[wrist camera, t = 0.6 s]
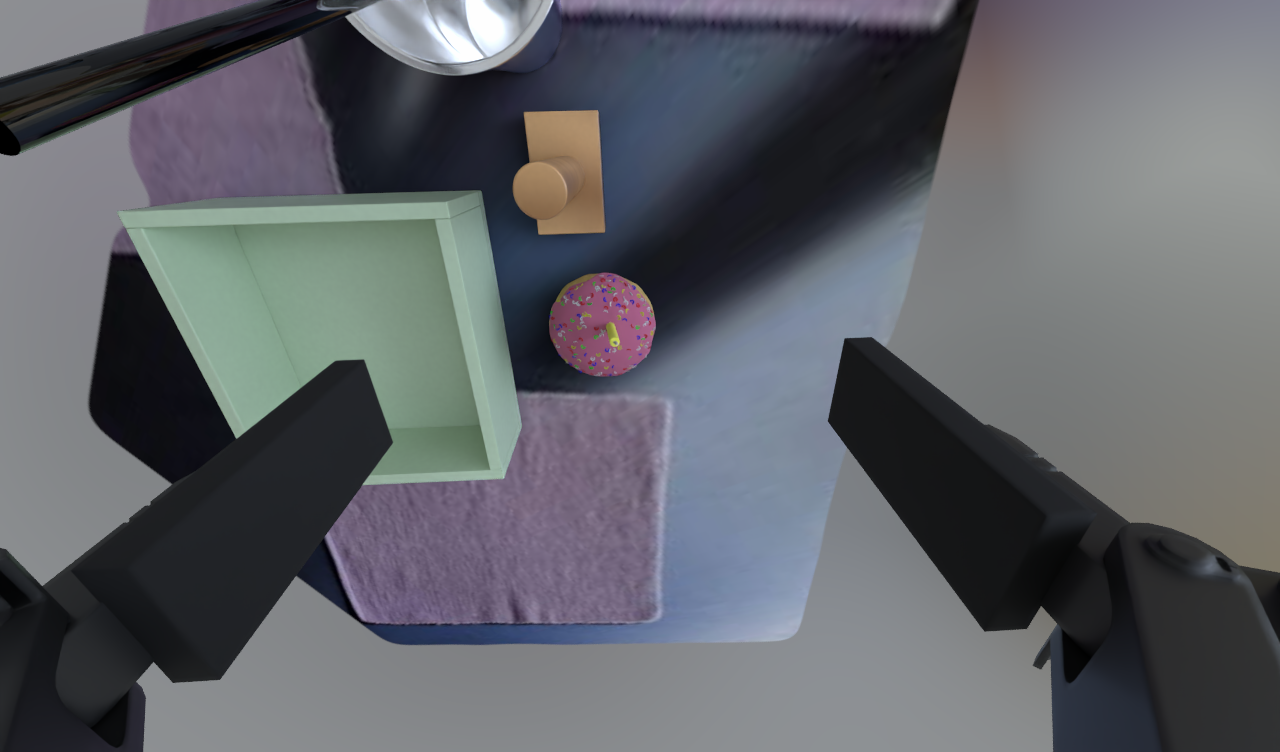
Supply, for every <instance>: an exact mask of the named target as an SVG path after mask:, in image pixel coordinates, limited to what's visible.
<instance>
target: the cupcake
mask: <svg viewBox="0 0 1280 752" xmlns="http://www.w3.org/2000/svg"><path fill="white" fill-rule="evenodd" d="M549 318H550V320H549V331H550V336H551V341H552V342H553V343H554V346H555V348H556V350H557V352H558V353H559V356H561V357H562V358H563V359H564V360H565V361H566V363H568V364H569V365H570V366H572V367H574V368H576V369H578V370H579V372H580V371H581V372H580V373H582V372H584V373H587V374H590V375H594V376H618V375H621V374H623V373H625V372H629V371H628V370H630V369H631V368H635V367H636V365H637V364H638V363H639V362H640V361H642V360H643V359H644V358H647V354H648V353H649V351H650V349H651V343H652V339H653V336H654V332H655V329H656V327H655V326H656V323H655V318H654V312H653V308H652V305H651V303H650V301H649V299H648V297H647V296H646V295H645V293H644V292H643V291H642V289H641V288H640V287H639V286H638V285H637V284H635V283H633V282H631V281H629V280H627V279H625V278H623V277H621V276H619V275H616V274H612V273H599V274H588V275H584V276H582V277H580V278H578V279H576V280H574V281H572V282H570V283H568V284H567V285H566V286H565V287H564V288H563V289H562V290H561V292H560V294H559V295H558V297H557V299H556V301H555V303H554V304H553V306H552V308H551V312H550V315H549ZM634 366H635V367H634Z"/></svg>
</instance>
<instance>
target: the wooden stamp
mask: <svg viewBox="0 0 1280 752" xmlns="http://www.w3.org/2000/svg"><path fill="white" fill-rule="evenodd" d="M524 120H525V128H526V137H527V145H528V153H529V161H530V163H528V164H526V165H524V166H523V167H521V168H520V169H519V171H518V172H517V174H516V175H515V178H514V181H513V195H514V199H515V201H516V203H517V205H518V207H519V208H520V209H521V210H522V211H523V212H524V213H525V214H526V215H528V216H529V217H532V218H534V219H537V226H538V234H539V235H547V234H579V233H604V232H605V228H606V219H605V201H604V183H603V165H602V148H601V130H600V113H599V112H598V111H597V110H587V111H546V112H524Z"/></svg>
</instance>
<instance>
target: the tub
mask: <svg viewBox="0 0 1280 752" xmlns="http://www.w3.org/2000/svg"><path fill="white" fill-rule="evenodd" d="M117 214H118V216H119V218H120V220H121V221H122V223H123V225H124V227H125V228H127V229H126V230H127V232H128V234H129V236H130V238H131V240H132V242H133V244H134V246H135V247H136V249H137V251H138V253H139V255H140V257H141V259H142V261H143V263H144V265H145V266H146V268H147V270H148V272H149V274H150V276H151V278H152V280H153V282H154V283H155V285H156V287H157V289H158V291H159V293H160V295H161V297H162V299H163V301H164V302H165V304H166V306H167V308H168V310H169V312H170V314H171V316H172V318H173V319H174V321H175V323H176V325H177V327H178V329H179V331H180V333H181V335H182V336H183V338H184V340H185V342H186V344H187V346H188V348H189V350H190V352H191V354H192V355H193V357H194V359H195V361H196V363H197V365H198V367H199V369H200V371H201V372H202V374H203V376H204V378H205V380H206V382H207V384H208V386H209V388H210V389H211V391H212V393H213V395H214V397H215V399H216V401H217V403H218V405H219V407H220V408H221V410H222V412H223V414H224V416H225V418H226V420H227V422H228V424H229V425H230V427H231V429H232V431H233V433H234V435H235V437H236V439H237V438H238V437H240V436H241V435H242V434H243V433H245V432H246V431H247V430H248V429H250V428H251V427H252V426H253V425H255V424H256V423H257V422H258V421H260V420H261V419H262V418H263V417H265V416H266V415H267V414H269V413H270V412H271V411H272V410H274V409H275V408H276V407H277V406H279V405H280V404H281V403H282V402H284V401H285V400H286V399H287V398H289V397H290V396H291V395H292V394H294V393H295V392H296V391H298V390H299V389H300V388H301V387H303V386H304V385H305V384H306V383H308V382H309V381H310V380H311V379H313V378H314V377H315V376H316V375H318V374H319V373H320V372H321V371H323V370H324V369H325V368H327V367H328V366H329V365H330V364H332V363H333V362H334V361H337V360H360V359H364V360H365V363H366V366H367V369H368V372H369V374H370V377H371V380H372V383H373V386H374V389H375V392H376V394H377V397H378V400H379V403H380V406H381V409H382V412H383V415H384V417H385V420H386V423H387V426H388V429H389V432H390V435H391V437H392V440H393V444H392V445H391V446H390V448H389V449H388V451H387V452H386V453H385V455H384V456H383V457H382V459H381V460H380V462H379V463H378V464H377V466H376V467H375V468H374V470H373V471H372V472H371V474H370V475H369V477H368V478H367V479H366V481H365V482H364V483H363V485H376V484H398V483H420V482H443V481H465V480H488V479H504V477H505V474H506V471H507V468H508V465H509V462H510V459H511V456H512V454H513V451H514V448H515V445H516V442H517V439H518V436H519V433H520V430H521V427H522V424H521V418H520V412H519V406H518V400H517V395H516V389H515V383H514V377H513V371H512V365H511V360H510V354H509V348H508V342H507V336H506V331H505V325H504V319H503V313H502V307H501V301H500V296H499V290H498V284H497V278H496V272H495V267H494V261H493V255H492V249H491V243H490V237H489V232H488V226H487V220H486V214H485V208H484V202H483V197H482V191H481V190H472V191H436V192H401V193H366V194H331V195H296V196H261V197H226V198H213V199H206V200H198V201H191V202H183V203H176V204H168V205H161V206H153V207H146V208H138V209H131V210H123V211H117Z"/></svg>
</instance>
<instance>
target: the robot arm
mask: <svg viewBox="0 0 1280 752" xmlns="http://www.w3.org/2000/svg"><path fill="white" fill-rule="evenodd" d="M828 422H829V424H830V425H831V426H832V428H833V429H834V430H835V432H836V433H837V434H838V436H839V437H840V438H841V440H842V441H843V442H844V444H845V445H846V446H847V448H848V449H849V450H850V452H851V453H852V454H853V456H854V457H855V459H856V460H857V461H858V462H859V464H860V465H861V466H862V468H863V469H864V471H865V472H866V473H867V475H868V476H869V477H870V478H871V480H872V481H873V483H874V484H875V485H876V487H877V488H878V489H879V491H880V492H881V493H882V495H883V496H884V497H885V499H886V500H887V501H888V503H889V504H890V505H891V507H892V508H893V509H894V511H895V512H896V513H897V515H898V516H899V517H900V519H901V520H902V521H903V523H904V524H905V526H906V527H907V528H908V529H909V531H910V532H911V533H912V535H913V536H914V538H915V539H916V540H917V542H918V543H919V544H920V546H921V547H922V548H923V550H924V551H925V552H926V553H927V555H928V556H929V558H930V559H931V560H932V562H933V563H934V564H935V566H936V567H937V568H938V570H939V571H940V572H941V574H942V575H943V576H944V578H945V579H946V580H947V582H948V583H949V584H950V586H951V587H952V589H953V590H954V591H955V593H956V594H957V595H958V596H959V598H960V599H961V600H962V602H963V603H964V604H965V606H966V607H967V609H968V610H969V611H970V612H971V614H972V615H973V616H974V618H975V619H976V621H977V622H978V623H979V625H980V626H981V627H982V629H983V630H984V631H1000V630H1016V629H1027V628H1028V626H1029V625H1030V623H1031V621H1032V619H1033V618H1034V616H1035V615H1036V613H1037V611H1038V610H1039V608H1040V606H1042V607H1043V608H1044V609H1045V610H1046V612H1047V613H1048V614H1049V615H1050V616H1051V617H1052V618H1053V619H1054V620H1055V621H1056V623H1057V626H1056V627H1055V628H1054V630H1053V632H1052V633H1051V635H1050V636H1049V638H1048V639H1047V641H1046V642H1045V644H1044V645H1043V647H1042V648H1041V650H1040V651H1039V653H1038V655H1037V656H1036V658H1035V661H1034V664H1033V666H1035V667H1037V668H1039V669H1042V667H1043V665H1044V664H1045V663H1046V661H1047V660H1049V659H1051V685H1052V721H1053V752H1280V573H1278V572H1272V571H1266V570H1261V569H1255V568H1249V567H1244V566H1239V565H1237V564H1236V563H1235V562H1233V561H1232V560H1231V559H1229V558H1228V557H1227V556H1225V555H1224V554H1223V553H1222V552H1220V551H1219V550H1217V549H1215V548H1213V547H1211V546H1210V545H1207V544H1206V543H1204V542H1202V541H1200V540H1198V539H1197V538H1194V537H1192V536H1189V535H1186V534H1184V533H1182V532H1179V531H1176V530H1174V529H1171V528H1167V527H1163V526H1159V525H1154V524H1150V523H1129V522H1128V521H1127V520H1125V519H1124V518H1123V517H1121V516H1120V515H1118V514H1117V513H1116V512H1115V511H1113V510H1112V509H1110V508H1109V507H1108V506H1107V505H1105V504H1104V503H1103V502H1101V501H1100V500H1099V499H1097V498H1096V497H1095V496H1093V495H1092V494H1091V493H1089V492H1088V491H1087V490H1085V489H1084V488H1083V487H1081V486H1080V485H1079V484H1077V483H1076V482H1075V481H1073V480H1072V479H1071V478H1069V477H1068V476H1066V475H1065V474H1064V473H1063V472H1057V470H1056V467H1055V466H1053V465H1052V464H1051V463H1049V462H1048V461H1047V460H1045V459H1044V458H1039V457H1038V454H1037V453H1036V452H1035V451H1033V450H1032V449H1030V448H1029V447H1028V446H1027V445H1025V444H1024V443H1023V442H1021V441H1020V440H1018V439H1017V438H1015V437H1013V436H1011V435H1009V434H1007V433H1005V432H1003V431H1001V430H999V429H997V428H995V427H993V426H991V425H984V424H982V423H981V422H980V421H978V420H977V419H976V418H975V417H973V416H972V415H971V414H969V413H968V412H967V411H966V410H964V409H963V408H962V407H960V406H959V405H958V404H957V403H955V402H954V401H953V400H951V399H950V398H949V397H948V396H946V395H945V394H944V393H942V392H941V391H940V390H939V389H937V388H936V387H935V386H933V385H932V384H931V383H930V382H928V381H927V380H926V379H925V378H923V377H922V376H921V375H919V374H918V373H917V372H916V371H914V370H913V369H912V368H910V367H909V366H908V365H907V364H905V363H904V362H903V361H902V360H900V359H899V358H898V357H896V356H895V355H894V354H893V353H891V352H890V351H889V350H887V349H886V348H885V347H884V346H882V345H881V344H880V343H879V342H877V341H876V340H875V339H873V338H872V337H867V338H845V339H844V344H843V349H842V354H841V359H840V364H839V369H838V374H837V379H836V384H835V389H834V394H833V398H832V403H831V408H830V413H829V418H828ZM392 444H393V440H392V437H391V435H390V432H389V429H388V426H387V423H386V420H385V417H384V415H383V412H382V409H381V406H380V403H379V400H378V397H377V394H376V392H375V389H374V386H373V383H372V380H371V377H370V374H369V372H368V369H367V366H366V363H365V360H364V359H360V360H337V361H334V362H333V363H332V364H330V365H329V366H328V367H327V368H325V369H324V370H323V371H321V372H320V373H319V374H318V375H316V376H315V377H314V378H313V379H311V380H310V381H309V382H308V383H306V384H305V385H304V386H303V387H301V388H300V389H299V390H298V391H296V392H295V393H294V394H292V395H291V396H290V397H289V398H287V399H286V400H285V401H284V402H282V403H281V404H280V405H279V406H277V407H276V408H275V409H274V410H272V411H271V412H270V413H269V414H267V415H266V416H265V417H263V418H262V419H261V420H260V421H258V422H257V423H256V424H255V425H253V426H252V427H251V428H250V429H248V430H247V431H246V432H245V433H243V434H242V435H241V436H240V437H238V438H237V439H236V440H234V441H233V442H232V443H231V444H229V445H228V446H227V447H226V448H224V449H223V450H222V451H221V452H219V453H218V454H217V455H216V456H214V457H213V458H212V459H211V460H209V461H208V462H207V463H205V464H204V465H203V466H202V467H200V468H199V469H198V470H197V471H195V472H193V473H191V474H190V475H188V476H186V477H184V478H182V479H180V480H179V481H177V482H175V483H174V484H173V485H171V486H170V487H169V488H167V489H166V490H165V491H164V492H162V493H161V494H160V495H159V496H157V497H156V498H155V499H153V500H152V501H151V505H150V506H144V507H143V508H142V509H141V510H139V511H138V512H137V513H135V514H134V515H133V516H132V517H130V518H129V519H130V520H129V522H128V523H123V524H121V525H120V526H119V527H118V528H116V529H115V530H114V531H112V532H111V533H110V534H109V535H107V536H106V537H105V538H104V539H102V540H101V541H100V542H99V543H97V544H96V545H95V546H93V547H92V548H91V549H89V550H88V551H87V552H86V553H84V554H83V555H82V556H81V557H79V558H78V559H77V560H75V561H74V562H73V563H72V564H70V565H69V566H68V567H66V568H65V569H64V570H63V571H61V572H60V573H59V574H57V575H56V576H55V577H54V578H52V579H51V580H50V581H49V582H47V583H46V584H45V585H43V586H41V585H40V584H39V583H38V582H37V580H36V579H34V577H32V576H31V574H30V573H29V572H28V571H27V570H26V569H25V568H24V567H23V566H22V565H21V564H20V563H19V562H18V561H17V560H16V559H15V558H14V557H13V556H12V555H11V554H10V553H9V552H8V551H7V550H6V549H2V548H0V752H143V742H144V721H145V701H146V700H145V699H146V697H145V694H144V692H143V689H142V687H141V686H140V685H139V684H138V683H137V682H136V681H137V680H138V679H139V678H140V676H141V675H142V674H143V673H144V672H145V671H146V670H147V669H148V667H149V666H150V665H151V664H152V663H153V662H154V663H155V664H156V665H157V666H158V667H159V668H160V669H161V670H162V671H163V672H164V674H165V675H166V676H167V677H168V678H169V679H170V680H171V681H172V682H173V683H176V682H193V681H208V680H220V679H221V678H222V676H223V675H224V673H225V672H226V671H227V669H228V668H229V667H230V665H231V664H232V662H233V661H234V660H235V658H236V657H237V656H238V654H239V653H240V651H241V650H242V649H243V647H244V646H245V645H246V643H247V642H248V641H249V639H250V638H251V637H252V635H253V634H254V632H255V631H256V630H257V628H258V627H259V626H260V624H261V623H262V621H263V620H264V619H265V617H266V616H267V615H268V613H269V612H270V611H271V609H272V608H273V606H274V605H275V604H276V602H277V601H278V600H279V598H280V597H281V596H282V594H283V593H284V591H285V590H286V589H287V587H288V586H289V585H290V583H291V581H292V580H293V579H294V578H295V576H296V575H297V574H298V572H299V571H300V570H301V568H302V567H303V565H304V564H305V563H306V561H307V560H308V559H309V557H310V556H311V555H312V553H313V552H314V550H315V549H316V548H317V546H318V545H319V544H320V542H321V541H322V539H323V538H324V537H325V535H326V534H327V533H328V531H329V530H330V529H331V527H332V526H333V524H334V523H335V522H336V520H337V519H338V518H339V516H340V515H341V513H342V512H343V511H344V509H345V508H346V507H347V505H348V504H349V503H350V501H351V500H352V498H353V497H354V496H355V494H356V493H357V492H358V490H359V489H360V487H361V486H362V485H363V483H364V482H365V481H366V479H367V478H368V477H369V475H370V474H371V472H372V471H373V470H374V468H375V467H376V466H377V464H378V463H379V462H380V460H381V459H382V457H383V456H384V455H385V453H386V452H387V451H388V449H389V448H390V446H391V445H392Z"/></svg>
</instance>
